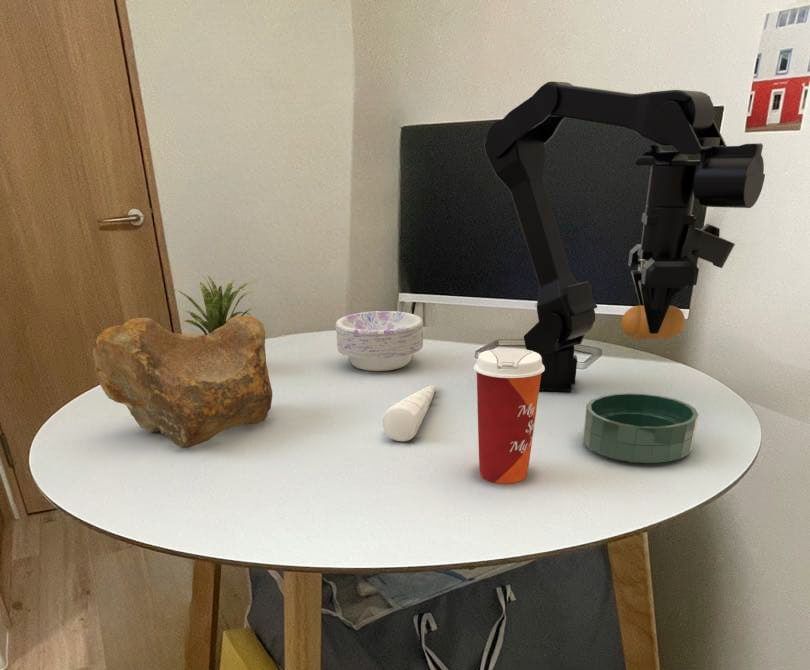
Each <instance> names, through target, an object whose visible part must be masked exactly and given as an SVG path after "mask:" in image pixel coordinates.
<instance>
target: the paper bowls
mask: <svg viewBox="0 0 810 670" xmlns="http://www.w3.org/2000/svg"><path fill="white" fill-rule="evenodd" d="M423 326H424V322H423V318H421V316H420V315H417V314H414V313H411V312H405V311H396V310H394V311H393V310H379V311H376V310H375V311H363V312H358V313H357V312H356V313H352V314H351V313H350V314H347V315H343V316H342V317H340V318H339V319H337V320H336V322H335V331H336V332H335V333H336V346H337V347H336V348H337V351H338V353H339V354H341V355H342V356H346V357H347V358H348V359H349V361H350V363H351V364H352V366H354V367H355V368H357V369H360V370H364V371H367V372H368V371H369V372H387V371H394V370H398V369H401V368H403V367H406V366H407V365H408V364H409V363H410V361H411V360H412V358H413V356H414V354H416V353H418V352H420V350H423V348H424V329H423V328H424V327H423Z"/></svg>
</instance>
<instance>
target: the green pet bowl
mask: <svg viewBox="0 0 810 670" xmlns="http://www.w3.org/2000/svg"><path fill="white" fill-rule="evenodd" d="M698 419H699V412H698V410H697V409H696V408H695V407H694V406H692V405H690V404H689V403H687V402H685V401H682V400H679V399H677V398H672V397H669V396H664V395H660V394H652V393H640V392H619V393H610V394H605V395H599V396H597V397H595V398H592V399H590V400H589V401H588V402H587V403H586V404H585V413H584V422H583V430H582V431H583V432H582V442H583V444H584V445H585V446H586V448H588V450H591V451H593V452H595V453H597V454H598V455H601V456H604V457H607V458H610V459H612V460H616V461H620V462H626V463H634V464H659V463H668V462H673V461H676V460H680V459H682V458H684V457H685V456H688V455H689V454H690V453H691V451H692V450H693V446H694V440H695V435H696V430H697V426H698V421H699V420H698Z"/></svg>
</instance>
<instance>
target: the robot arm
mask: <svg viewBox="0 0 810 670" xmlns="http://www.w3.org/2000/svg"><path fill="white" fill-rule="evenodd" d="M714 117H715V108H714V103H713V101H712V99H711V96H710V95H709V94H707V93H706V92H702V91H698V90H686V89H685V90H684V89H668V90H658V91H649V92H642V93H631V92H623V91H616V90H609V89H600V88H593V87H586V86H578V85H574V84H572V83H570V82H567V81H566V82H565V81H547V82H546V83H544V84H543V85H541V86H540V87H539V88H538V89H537V90H536V91H535V92H534V93H533V94H532V96H530V97H529V98H527V99H525V101H523V102H521V103H520V104H519V105H517V106H515V108H513V109H512V110H510V111H509V112H508V113H507V114H506V115H505V116H504V117H503V118H502V119H499V120H497V121H495V122H494V123H493V124H492V125H491V126H490V128H489V129H488V131H487V135H486V138H485V140H484V151H485V156H486V158H487V159H488V162H489V164H490V166H491V168H492V170H493V172H494V175H495V176H496V177H497V178H498V179H499V180H500V182H502V184H503V185H504V186H505V188H507V189H508V190H509V192H510V194H511V198H512V200H513V201H512V202H513V204H514V207H515V211H516V215H517V217H518V221H519V224H520V227H521V229H522V231H521V232H522V234H523V237H524V240H525V243H526V247H527V250H528V253H529V257H530V259H531V263H532V267H533V270H534V273H535V277H536V280H537V283H538V287H539V289H538V295H537V302H536V313H537V319H538V321H537V322H536V323H535V324H534V326H533V327H532V328H530V330H528V331H527V332H526V333H525V334H524V335H523V341H524V345H525V350H529V351H533V352H536V353H538V354H540V356H541V358H542V364H543V365H544V367H545V370H544V372H542V373H541V380H540V387H539V391H547V392H572V389H573V386H574V385H576V379H577V378H576V376H577V367H578V355H577V354H575V346H577V345H578V346H579V345H581V344H582V343H583V341H584V338H585V336H586V334H589V332H590V330H591V329H593V326H594V323H595V322H596V311H595V309H597V308H598V305H597V303H596V302H595V301H594V297H593V294H592V286H591V284H590V282H589V281H583V282H578V280H576V278H575V277H574V276H573V274H572V271H571V269H570V265H569V262H568V259H567V255H566V253H565V249H564V245H563V243H562V242H563V241H562V239H561V236H560V235H561V234H560V233H559V228H558V225H557V221H556V218H555V216H554V211H553V208H552V205H551V202H550V199H549V196H548V192H547V188H546V185H545V181H544V171H545V164H546V159H547V158H546V157H547V155H546V150H545V149H546V147H545V145H546V144H547V143H548V142H549V141H550V140H552V138H553V137H554V136H555V135H556V133H557V132H558V130H559V128H560V126H561V124H562V123H563V121H564V120H565V119H566V118H567V119H572V120H579V121H585V122H592V123H597V124H603V125H610V126H616V127H622V128H626V129H628V130H630V131H632V132H634V134H637V136H638V135H639V136H640V137H642V138H644V139H646V140H649V141H651V142H654V143H656V144H650V145H649V146H648V148H647V149H646V151H644V153H642V155H640V156H639V157H638V158H637V159H635V161H634V165H635V166H636V167H650V171H649V172H650V173H649V180H648V187H647V196H646V203H645V210H644V212H643V213H642V215H641V223H642V224H643V227H642V234H641V241H640V243H637V244H636V245H635V246H634V247H632V248H631V249H630V250H629V255H628V264H627V265H628V266H629V267H630V268H635V267H636V265H637V270H636V269H635V270H630V273H631V277H632V281H633V284H634V288H635V293H636V295H637V299H638V303H639V304H638V305H639V306H644V310H645V314H646V319H647V324H648V328H649V332H650V333H651V334H657V333H658V332H659V330H660V327H661V325H662V323H663V320H664V318H665V315H666V313H667V310H668V308H669V306H671V303H672V301H673V299H674V297H675V296H676V295H677V294H678V293H680V292H681V291H682V290H684V289H686V288H688V287H691V286H692V287H693V286H697V283H698V277H699V271H700V268H699V267H698V266H697V265H696V264H695V262H694V261H693V260H692V256H693V257H696V258H698V259H701V260H704V261H707V262H709V263H712V265H713V266H714V267H717V268H720V269H723V268H724V266H725V264H726V262H727V260H728V259H729V256H730V254H731V252H732V251H733V249H734V247H735V245H736V243H734V242H733V241H730V240H728V239H726V238H723V237H720V231H721V229H720V228H719V227H717V226H715V225H713V224H710V223H706V224H705V225H704V226H703V227H700V229H699V228H698V227H697V228H696V226H697V217H695V215H694V214H692V213H693V209H694V207H693V206H694V200H698V202H699V204H700V206H701V207H703V208H728V209H729V208H730V209H731V208H733V209H751V208H753V207H754V205H755V204H756V203H757V202H758V200H759V197H760V196H761V193H762V190H763V186H764V182H765V178H766V177H765V176H766V173H764V170H765V162H764V158H763V155H762V153H763V149H764V145H763V143H762V142H761V143H760V142H759V143H744V144H741V145H727V144H726V142H725V140H724V138H723V136H722V134H721V132H720V129H719V127H718V126H717V123H716V122H715V120H714ZM661 146H672V147H673V148H674V149H676V150H663V148H662V147H661ZM688 155H700V159H698V160H697V159H696V160H693V159H691V160H689V157H688Z"/></svg>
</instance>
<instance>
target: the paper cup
mask: <svg viewBox="0 0 810 670" xmlns="http://www.w3.org/2000/svg"><path fill="white" fill-rule="evenodd" d="M473 369H474V371H475V373H476V397H477V398H476V399H477V400H476V401H477V432H478V433H477V438H478V439H477V441H478V465H479V466H478V467H479V468H478V469H479V475H480V477H481V478H482V479H483V480H485V481H487V482H489V483H493V484H498V485H499V484H501V485H511V484H518V483H521V482H522V481H524V480H526V479H527V476H528V473H529V466H530V459H531V452H532V445H533V437H534V430H535V424H536V416H537V409H538V403H539V401H538V400H539V393H540V390H539V387H540V380H541V373H542V372H544V370H545V367H544V365H543V364H542V358H541V356H540V354H538V353H536V352H533V351H530V350H527V349H523V348H509V347H507V348H493V349H487V350H485V351H482V352H480V353H479V354H478V356H477V361H476V363H475V364H474V365H473Z"/></svg>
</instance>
